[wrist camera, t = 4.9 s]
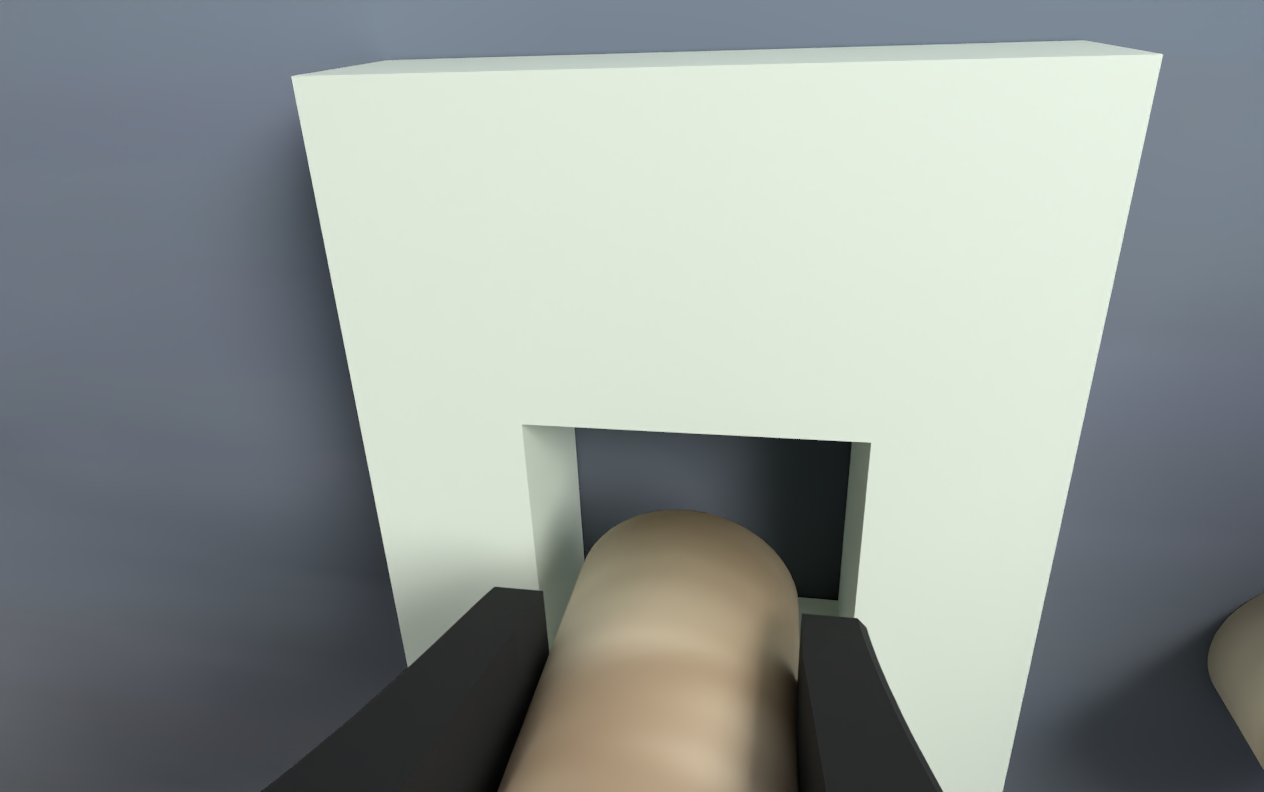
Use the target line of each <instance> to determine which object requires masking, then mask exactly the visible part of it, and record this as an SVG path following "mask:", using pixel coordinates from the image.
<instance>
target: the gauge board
mask: <svg viewBox="0 0 1264 792" xmlns="http://www.w3.org/2000/svg"><path fill="white" fill-rule="evenodd" d="M1162 56H1163V54H1159V53H1153V52H1148V51H1142V50H1136V49H1130V48H1125V47H1119V46H1113V45H1107V44H1102V43H1096V42H1090V41H1084V40H1080V41H1045V42H1010V43H975V44H939V45H904V46H869V47H834V48H799V49H764V50H728V51H693V52H658V53H623V54H588V55H553V56H517V57H482V58H447V59H412V60H386V61H380V62H374V63H368V64H362V65H356V66H350V67H344V68H338V69H332V70H326V71H320V72H314V73H308V74H302V75H296V76H291V77H292V82H293V88H294V93H295V98H296V103H297V108H298V113H299V118H300V123H301V128H302V133H303V138H304V143H305V148H306V153H307V159H308V164H309V169H310V174H311V179H312V184H313V189H314V194H315V199H316V204H317V209H318V214H319V219H320V225H321V230H322V235H323V240H324V245H325V250H326V255H327V260H328V265H329V270H330V275H331V280H332V285H333V291H334V296H335V301H336V306H337V311H338V316H339V321H340V326H341V331H342V336H343V341H344V346H345V351H346V357H347V362H348V367H349V372H350V377H351V382H352V387H353V392H354V397H355V402H356V407H357V412H358V417H359V423H360V428H361V433H362V438H363V443H364V448H365V453H366V458H367V463H368V468H369V473H370V478H371V483H372V489H373V494H374V499H375V504H376V509H377V514H378V519H379V524H380V529H381V534H382V539H383V544H384V549H385V555H386V560H387V565H388V570H389V575H390V580H391V585H392V590H393V595H394V600H395V605H396V610H397V615H398V621H399V626H400V631H401V636H402V641H403V646H404V651H405V656H406V661H407V666H408V667H409V666H410V665H411V664H412V663H413V662H414V661H416V660H417V659H418V658H419V657H420V656H421V655H422V654H423V653H424V652H425V651H426V650H427V649H428V648H429V647H430V646H431V645H433V644H434V643H435V642H436V641H437V640H438V639H439V638H440V637H441V636H442V635H443V634H444V633H445V632H446V631H447V630H448V629H449V628H450V627H451V626H453V625H454V624H455V623H456V622H457V621H458V620H459V619H460V618H461V617H462V616H463V615H464V614H465V613H466V612H467V611H468V610H469V609H470V608H471V607H472V606H474V605H475V604H476V603H477V602H478V601H479V600H480V599H481V598H482V597H483V596H484V595H486V594H487V593H488V592H489V591H490V590H491V589H492V588H494V587H505V588H516V589H528V590H539V591H543V595H544V605H545V615H546V624H547V634H548V644H549V653H550V651H551V648H552V645H553V643H554V640H555V637H556V635H557V632H558V629H559V627H560V624H561V621H562V619H563V616H564V613H565V611H566V608H567V605H568V603H569V600H570V598H571V595H572V592H573V590H574V587H575V584H576V582H577V579H578V576H579V574H580V571H581V568H582V566H583V563H584V549H583V535H582V522H581V508H580V495H579V481H578V468H577V454H576V441H575V427H581V428H600V429H619V430H638V431H657V432H676V433H695V434H714V435H733V436H753V437H772V438H791V439H810V440H829V441H848V442H852V446H851V457H850V469H849V480H848V492H847V504H846V515H845V527H844V538H843V550H842V562H841V573H840V585H839V597H838V600H826V599H815V598H803V597H798V603H799V648H800V633H801V617H802V613H804V614H815V615H827V616H838V617H850V618H858V619H859V620H860V621H861V622H862V623H863V624H864V625H865V626H866V627H867V630H868V634H869V637H870V640H871V643H872V645H873V648H874V651H875V653H876V656H877V659H878V661H879V664H880V666H881V669H882V671H883V673H884V675H885V678H886V680H887V682H888V685H889V687H890V689H891V691H892V693H893V696H894V698H895V700H896V702H897V704H898V706H899V708H900V710H901V713H902V715H903V717H904V719H905V721H906V723H907V725H908V727H909V729H910V731H911V733H912V735H913V737H914V739H915V741H916V742H917V744H918V746H919V748H920V750H921V752H922V754H923V755H924V757H925V759H926V761H927V763H928V765H929V767H930V768H931V770H932V772H933V774H934V776H935V778H936V779H937V781H938V783H939V785H940V787H941V789H942V791H943V792H1003V787H1004V783H1005V778H1006V774H1007V769H1008V765H1009V760H1010V755H1011V751H1012V746H1013V742H1014V737H1015V732H1016V728H1017V723H1018V719H1019V714H1020V709H1021V705H1022V700H1023V696H1024V691H1025V686H1026V682H1027V677H1028V673H1029V668H1030V663H1031V659H1032V654H1033V650H1034V645H1035V640H1036V636H1037V631H1038V627H1039V622H1040V617H1041V613H1042V608H1043V604H1044V599H1045V594H1046V590H1047V585H1048V581H1049V576H1050V571H1051V567H1052V562H1053V558H1054V553H1055V548H1056V544H1057V539H1058V535H1059V530H1060V525H1061V521H1062V516H1063V512H1064V507H1065V502H1066V498H1067V493H1068V489H1069V484H1070V479H1071V475H1072V470H1073V466H1074V461H1075V456H1076V452H1077V447H1078V443H1079V438H1080V433H1081V429H1082V424H1083V420H1084V415H1085V410H1086V406H1087V401H1088V397H1089V392H1090V387H1091V383H1092V378H1093V374H1094V369H1095V364H1096V360H1097V355H1098V351H1099V346H1100V341H1101V337H1102V332H1103V328H1104V323H1105V318H1106V314H1107V309H1108V305H1109V300H1110V296H1111V291H1112V286H1113V282H1114V277H1115V273H1116V268H1117V263H1118V259H1119V254H1120V250H1121V245H1122V240H1123V236H1124V231H1125V227H1126V222H1127V217H1128V213H1129V208H1130V204H1131V199H1132V194H1133V190H1134V185H1135V181H1136V176H1137V171H1138V167H1139V162H1140V158H1141V153H1142V148H1143V144H1144V139H1145V135H1146V130H1147V125H1148V121H1149V116H1150V112H1151V107H1152V102H1153V98H1154V93H1155V89H1156V84H1157V79H1158V75H1159V70H1160V66H1161V61H1162Z"/></svg>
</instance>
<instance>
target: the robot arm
mask: <svg viewBox="0 0 1264 792" xmlns="http://www.w3.org/2000/svg"><path fill="white" fill-rule="evenodd" d="M548 656H549V644H548V634H547V624H546V615H545V605H544V595H543V591H539V590H528V589H516V588H505V587H494V588H492V589H491V590H490V591H489V592H488V593H487V594H486V595H484V596H483V597H482V598H481V599H480V600H479V601H478V602H477V603H476V604H475V605H474V606H472V607H471V608H470V609H469V610H468V611H467V612H466V613H465V614H464V615H463V616H462V617H461V618H460V619H459V620H458V621H457V622H456V623H455V624H454V625H453V626H451V627H450V628H449V629H448V630H447V631H446V632H445V633H444V634H443V635H442V636H441V637H440V638H439V639H438V640H437V641H436V642H435V643H434V644H433V645H431V646H430V647H429V648H428V649H427V650H426V651H425V652H424V653H423V654H422V655H421V656H420V657H419V658H418V659H417V660H416V661H414V662H413V663H412V664H411V665H410V666H409V667H408V668H407V669H406V670H405V671H404V672H402V673H401V674H400V675H399V676H398V677H397V678H396V679H395V680H394V681H392V682H391V683H390V684H389V685H388V686H387V687H386V688H385V689H384V690H382V691H381V692H380V693H379V694H378V695H377V696H376V697H375V698H374V699H373V700H371V701H370V702H369V703H368V704H367V705H366V706H365V707H364V708H362V709H361V710H360V711H359V712H358V713H357V714H356V715H354V716H353V717H352V718H351V719H350V720H349V721H347V722H346V723H345V724H344V725H343V726H341V727H340V728H339V729H338V730H337V731H335V732H334V733H333V734H332V735H331V736H329V737H328V738H327V739H326V740H325V741H323V742H322V743H321V744H320V745H318V746H317V747H316V748H315V749H314V750H312V751H311V752H310V753H309V754H308V755H306V756H305V757H304V758H303V759H302V760H300V761H299V762H298V763H297V764H296V765H294V766H293V767H292V768H291V769H289V770H288V771H287V772H286V773H284V774H283V775H282V776H281V777H279V778H278V779H277V780H275V781H274V782H273V783H271V784H270V785H269V786H268V787H266V788H265V789H264V790H262V791H261V792H497V791H498V788H499V786H500V783H501V780H502V778H503V775H504V772H505V770H506V767H507V764H508V762H509V759H510V756H511V754H512V751H513V748H514V746H515V743H516V741H517V738H518V735H519V733H520V730H521V727H522V725H523V722H524V719H525V717H526V714H527V711H528V709H529V706H530V703H531V701H532V698H533V696H534V693H535V690H536V688H537V685H538V682H539V680H540V677H541V674H542V672H543V669H544V666H545V664H546V661H547V658H548ZM797 760H798V785H799V792H943V791H942V789H941V787H940V785H939V783H938V781H937V779H936V778H935V776H934V774H933V772H932V770H931V768H930V767H929V765H928V763H927V761H926V759H925V757H924V755H923V754H922V752H921V750H920V748H919V746H918V744H917V742H916V741H915V739H914V737H913V735H912V733H911V731H910V729H909V727H908V725H907V723H906V721H905V719H904V717H903V715H902V713H901V710H900V708H899V706H898V704H897V702H896V700H895V698H894V696H893V693H892V691H891V689H890V687H889V685H888V682H887V680H886V678H885V675H884V673H883V671H882V669H881V666H880V664H879V661H878V659H877V656H876V653H875V651H874V648H873V645H872V643H871V640H870V637H869V634H868V630H867V627H866V626H865V625H864V624H863V623H862V622H861V621H860V620H859V619H858V618H850V617H838V616H827V615H815V614H804V613H802V617H801V633H800V648H799V664H798V680H797Z"/></svg>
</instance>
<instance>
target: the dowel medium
mask: <svg viewBox="0 0 1264 792" xmlns="http://www.w3.org/2000/svg"><path fill="white" fill-rule="evenodd" d="M798 664H799V603H798V595H797V591H796V587H795V584H794V581H793V579H792V577H791V574H790V572H789V570H788V569H787V567H786V566H785V564H784V562H783V561H782V560H781V558H780V557H779V556H778V555H777V553H776V552H775V551H774V550H773V549H772V548H771V547H770V546H769V545H768V544H767V543H766V542H765V541H763V540H762V539H761V538H759V537H758V536H757V535H755V534H754V533H753V532H751V531H749V530H748V529H746V528H744V527H742V526H741V525H739V524H737V523H734V522H732V521H730V520H727V519H725V518H722V517H719V516H715V515H712V514H709V513H703V512H698V511H690V510H662V511H655V512H649V513H645V514H642V515H638V516H635V517H633V518H630V519H628V520H626V521H623V522H622V523H620V524H618V525H616V526H615V527H613V528H612V529H610V530H609V531H608V532H607V533H605V534H604V535H603V536H602V537H601V538H600V539H599V540H598V541H597V542H596V543H595V544H594V546H593V547H592V549H591V550H590V552H589V553H588V555H587V557H586V559H585V561H584V563H583V566H582V568H581V571H580V574H579V576H578V579H577V582H576V584H575V587H574V590H573V592H572V595H571V598H570V600H569V603H568V605H567V608H566V611H565V613H564V616H563V619H562V621H561V624H560V627H559V629H558V632H557V635H556V637H555V640H554V643H553V645H552V648H551V651H550V653H549V656H548V658H547V661H546V664H545V666H544V669H543V672H542V674H541V677H540V680H539V682H538V685H537V688H536V690H535V693H534V696H533V698H532V701H531V703H530V706H529V709H528V711H527V714H526V717H525V719H524V722H523V725H522V727H521V730H520V733H519V735H518V738H517V741H516V743H515V746H514V748H513V751H512V754H511V756H510V759H509V762H508V764H507V767H506V770H505V772H504V775H503V778H502V780H501V783H500V786H499V788H498V791H497V792H799V785H798V760H797V680H798Z"/></svg>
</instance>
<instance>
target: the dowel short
mask: <svg viewBox="0 0 1264 792" xmlns="http://www.w3.org/2000/svg"><path fill="white" fill-rule="evenodd" d="M1207 665H1208V672H1209V676H1210V678H1211V681H1212V683H1213V685H1214V687H1215V689H1216V690H1217V692H1218V694H1219V695H1220V697H1221V699H1222V700H1223V702H1224V704H1225V705H1226V707H1227V709H1228V711H1229V712H1230V714H1231V716H1232V717H1233V719H1234V721H1235V722H1236V724H1237V726H1238V727H1239V729H1240V731H1241V732H1242V734H1243V736H1244V737H1245V739H1246V741H1247V743H1248V744H1249V746H1250V748H1251V749H1252V751H1253V753H1254V754H1255V756H1256V758H1257V759H1258V761H1259V763H1260V764H1261V766H1262V768H1263V769H1264V593H1262V594H1260V595H1258V596H1256V597H1255V598H1253V599H1251V600H1249V601H1248V602H1246V603H1245V604H1244V605H1242V606H1241V607H1239V608H1238V609H1237V610H1236V611H1235V612H1233V613H1232V614H1231V615H1230V616H1229V617H1228V618H1227V619H1226V620H1225V622H1224V623H1223V624H1222V625H1221V626H1220V628H1219V629H1218V631H1217V632H1216V634H1215V636H1214V638H1213V640H1212V642H1211V645H1210V648H1209V652H1208V663H1207Z"/></svg>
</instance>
